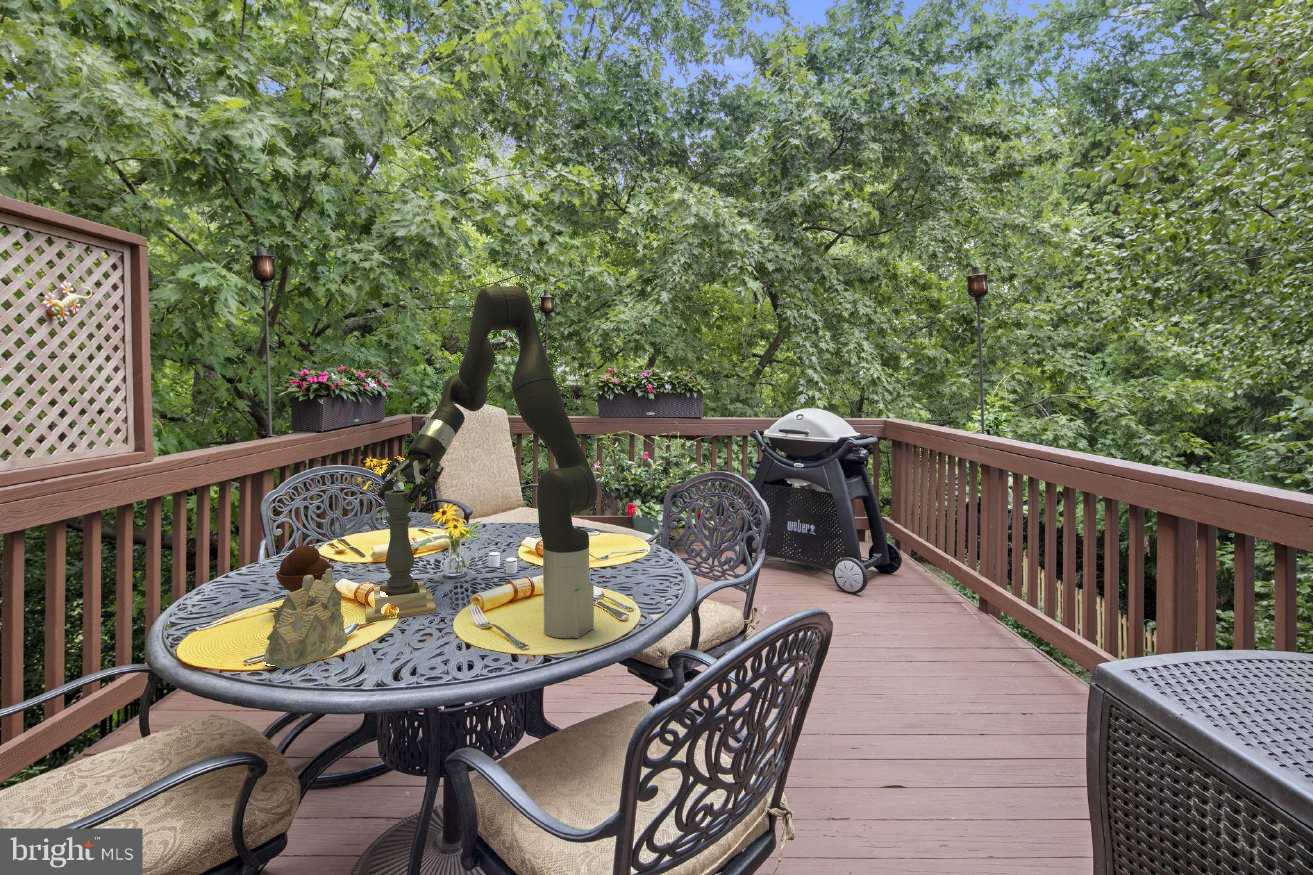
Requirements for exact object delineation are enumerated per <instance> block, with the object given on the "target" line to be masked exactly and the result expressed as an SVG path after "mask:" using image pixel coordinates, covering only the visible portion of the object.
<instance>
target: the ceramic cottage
mask: <svg viewBox="0 0 1313 875" xmlns="http://www.w3.org/2000/svg"><path fill="white" fill-rule="evenodd" d="M332 571H333V572H334V569H333V570H332V569H330V568H329V569H327V570H326V571H325V573H326V574H323V575H322V579H321V581H320V580H315V581H314V577H313V576H312V575H307V576H304V578H303V583H302V589H299V590H297V591H294V592H289V593H287V594H286V596H285V597H284V599H283V600H282V604H280V606H279V608H278V609H276V611H275V612H274V613H273V614H272V617H273V619H274V623H273V625H272V631H271V632H270V633H269V634H268V635H267V637H266V640H267V641H269V642H268V644H267V647H266V648H265V653H264V655H265V656H264V655H263V657H264V658H262V659H263V661H264V662H266V664H270V665H275V667H279V668H280V669H279V670H289V669H294V668H298V667H300V666H302V665H307V664H311V663H313V662H316V661H320V660H323V659H325V658H328V657H330V656H331V654H332V655H334V654H335V652H337V651H339V650H338V649H340V650H341V649H343V648H344V647H345V646H346V645H347V644H348V643H349V641H348V635H347V632H346V630H345V627H344V626H345V623H344V622H345V620H344V617H345V616H344V615H343V613H342V599H343V594H342V592H340V591H339V589H338V588H337V586H336V582H335V580H334V575H333V573H332ZM347 642H348V643H347ZM344 645H345V646H344ZM343 646H344V647H343ZM342 647H343V648H342ZM333 653H334V654H333ZM322 658H323V659H322ZM275 667H274V668H275Z"/></svg>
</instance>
